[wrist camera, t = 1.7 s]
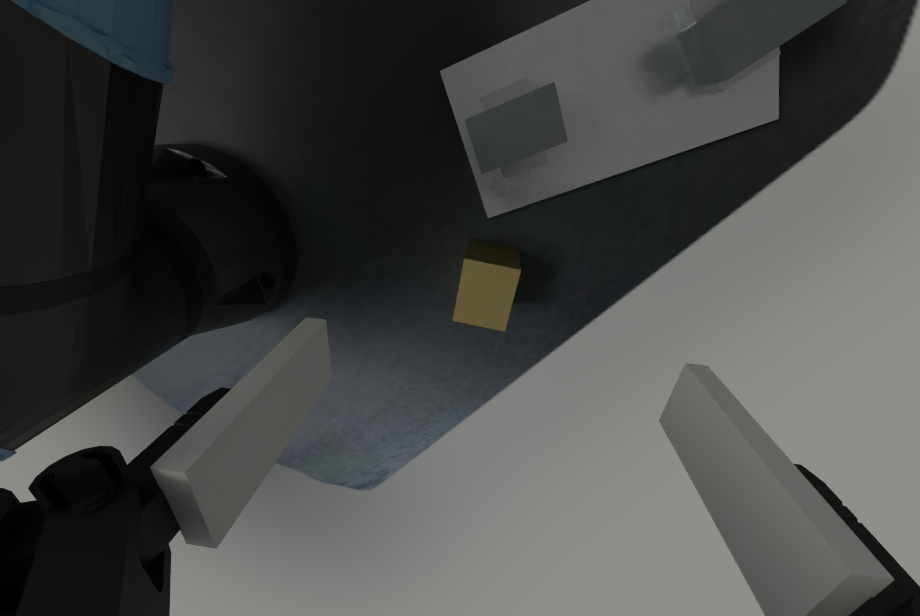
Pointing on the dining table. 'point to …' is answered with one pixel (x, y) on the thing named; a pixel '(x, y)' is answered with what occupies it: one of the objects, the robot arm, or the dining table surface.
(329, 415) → the dining table surface
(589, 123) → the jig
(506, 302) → the gold cube-like block
